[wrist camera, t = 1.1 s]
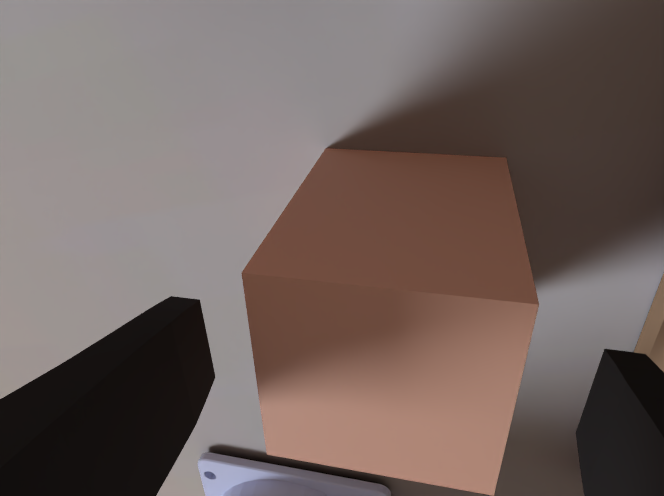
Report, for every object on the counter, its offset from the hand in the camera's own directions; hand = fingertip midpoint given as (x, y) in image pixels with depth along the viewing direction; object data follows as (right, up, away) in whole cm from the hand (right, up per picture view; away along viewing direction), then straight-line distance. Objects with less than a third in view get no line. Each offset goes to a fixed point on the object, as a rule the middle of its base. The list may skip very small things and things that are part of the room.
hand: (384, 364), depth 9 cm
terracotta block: (+1, +3, +5) cm, 5 cm away
